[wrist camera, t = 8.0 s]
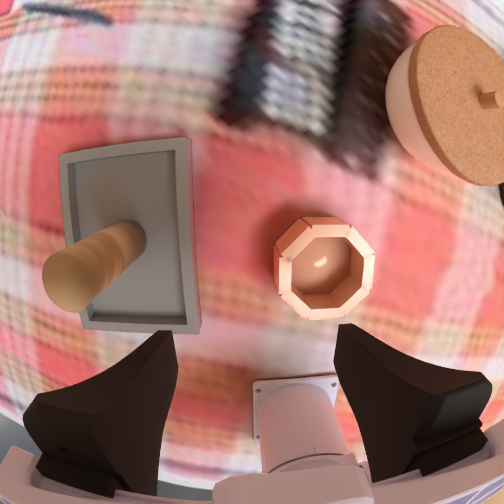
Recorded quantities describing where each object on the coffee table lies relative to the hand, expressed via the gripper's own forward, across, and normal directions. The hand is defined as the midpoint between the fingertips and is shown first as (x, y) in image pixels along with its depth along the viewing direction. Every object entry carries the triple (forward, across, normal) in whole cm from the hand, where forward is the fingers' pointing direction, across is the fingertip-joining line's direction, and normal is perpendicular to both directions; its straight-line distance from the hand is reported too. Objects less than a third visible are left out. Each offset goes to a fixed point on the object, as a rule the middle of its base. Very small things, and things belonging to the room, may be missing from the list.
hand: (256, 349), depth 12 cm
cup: (+10, -5, 0) cm, 12 cm away
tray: (+10, +9, -2) cm, 14 cm away
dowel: (+10, +9, -3) cm, 13 cm away
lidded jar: (+11, -14, -12) cm, 22 cm away
